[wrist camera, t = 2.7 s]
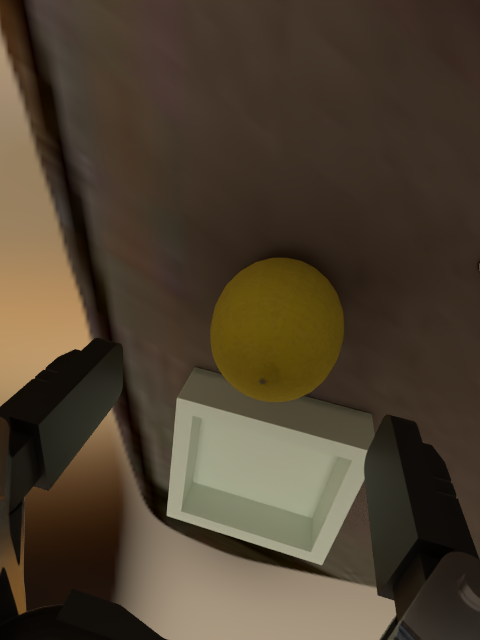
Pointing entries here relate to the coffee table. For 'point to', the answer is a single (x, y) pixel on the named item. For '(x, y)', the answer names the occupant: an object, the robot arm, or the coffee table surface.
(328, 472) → the tray
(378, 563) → the robot arm
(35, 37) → the coffee table surface
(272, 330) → the lemon
